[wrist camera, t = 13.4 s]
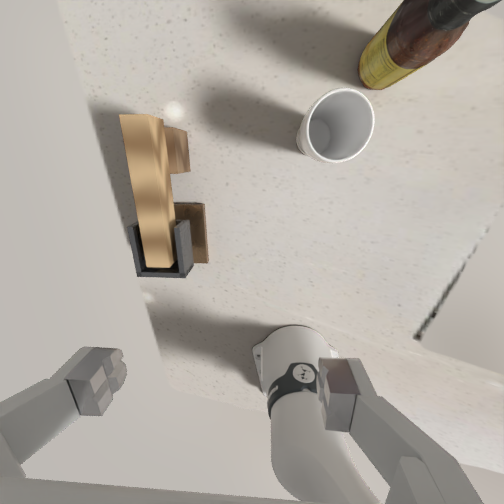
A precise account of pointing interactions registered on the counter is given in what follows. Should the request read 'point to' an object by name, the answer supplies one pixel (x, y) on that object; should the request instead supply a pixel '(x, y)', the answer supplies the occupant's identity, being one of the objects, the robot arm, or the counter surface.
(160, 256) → the oak rail
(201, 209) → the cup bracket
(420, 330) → the counter surface
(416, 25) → the sauce bottle
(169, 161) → the walnut block
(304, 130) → the drinking glass
